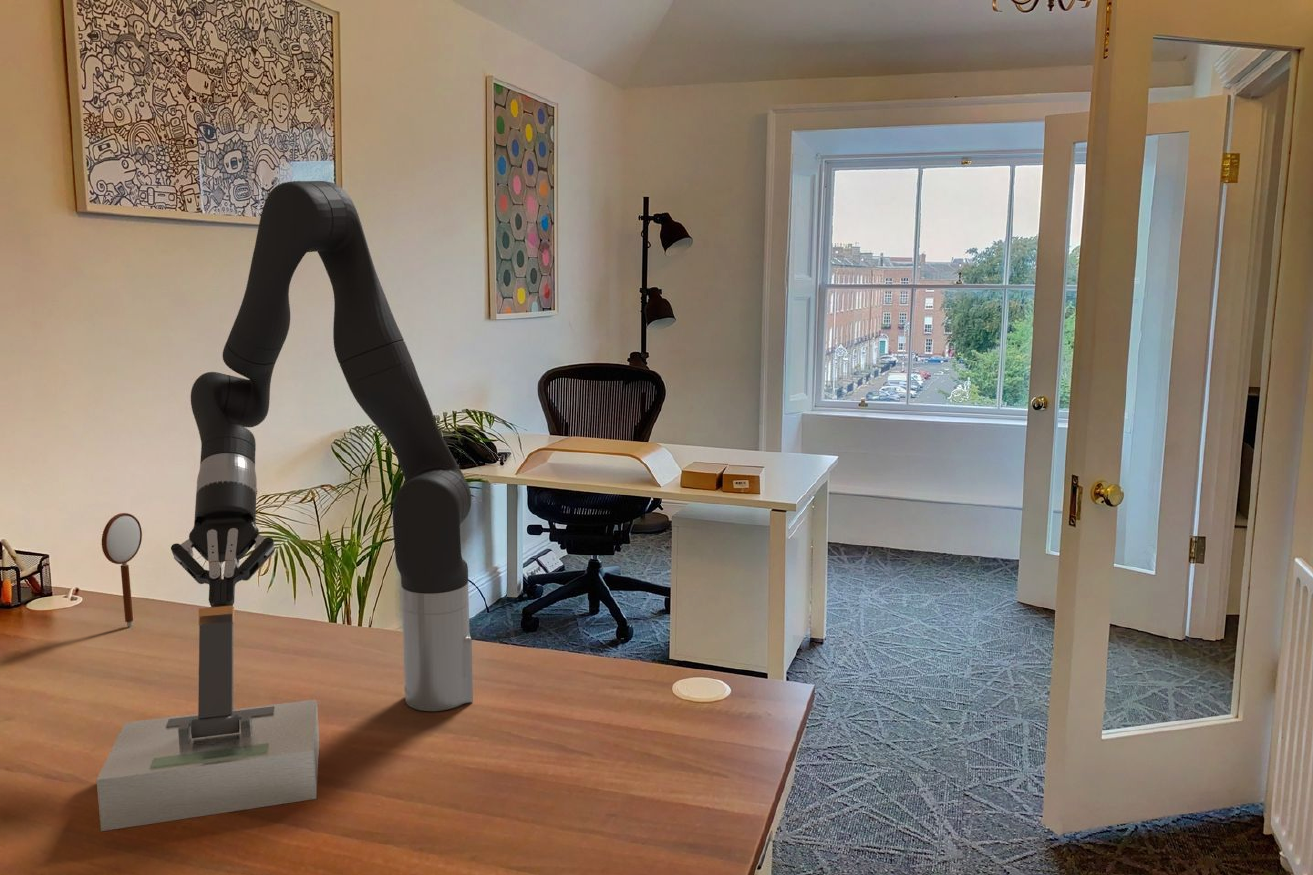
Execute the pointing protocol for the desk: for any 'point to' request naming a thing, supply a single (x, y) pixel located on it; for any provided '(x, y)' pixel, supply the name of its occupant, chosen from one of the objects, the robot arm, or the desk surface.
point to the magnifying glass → (122, 551)
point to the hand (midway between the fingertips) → (221, 608)
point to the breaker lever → (215, 674)
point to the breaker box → (209, 766)
